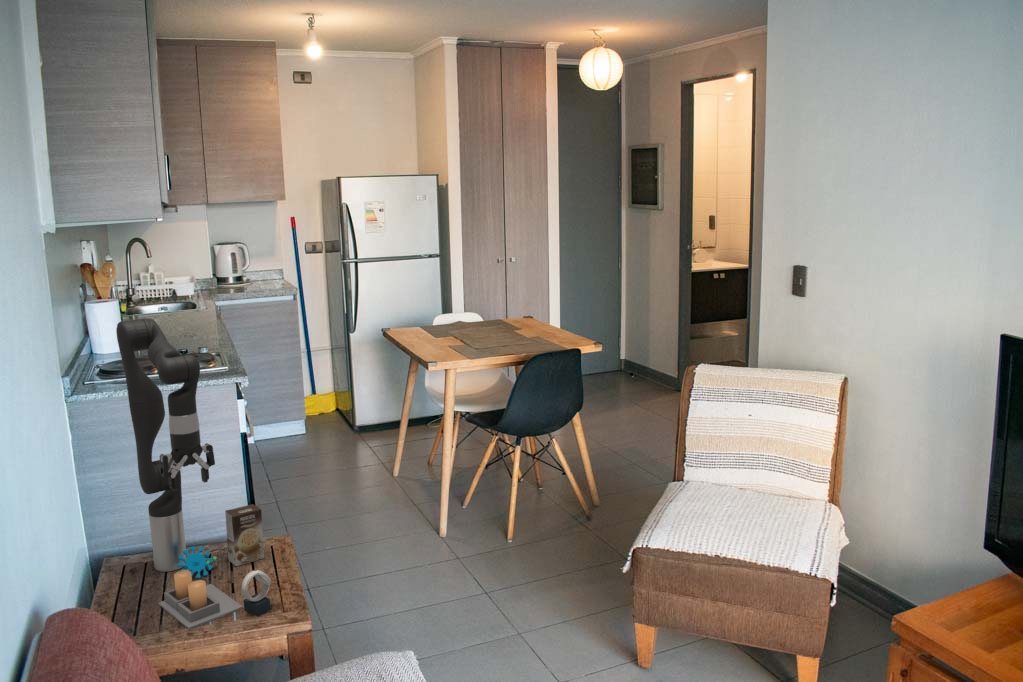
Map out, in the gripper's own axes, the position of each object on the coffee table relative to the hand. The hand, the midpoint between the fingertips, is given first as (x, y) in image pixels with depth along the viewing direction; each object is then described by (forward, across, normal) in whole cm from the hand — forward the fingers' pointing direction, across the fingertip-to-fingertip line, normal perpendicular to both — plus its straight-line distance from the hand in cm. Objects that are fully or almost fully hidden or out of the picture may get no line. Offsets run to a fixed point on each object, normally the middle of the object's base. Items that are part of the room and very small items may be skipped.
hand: (189, 485), depth 229 cm
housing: (+32, +3, +7) cm, 33 cm away
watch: (+32, -7, +20) cm, 39 cm away
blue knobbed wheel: (+32, -5, -12) cm, 35 cm away
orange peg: (+32, +5, +10) cm, 34 cm away
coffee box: (+32, -20, -11) cm, 40 cm away
